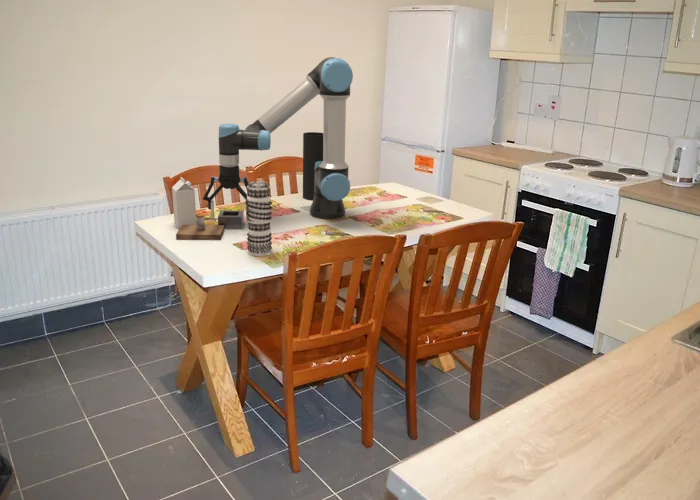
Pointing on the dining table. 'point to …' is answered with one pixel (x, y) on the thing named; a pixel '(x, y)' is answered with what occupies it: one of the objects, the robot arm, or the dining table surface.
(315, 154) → the vase
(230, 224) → the dark grey hollow block
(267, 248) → the decorative candle
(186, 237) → the stand
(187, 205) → the milk carton
